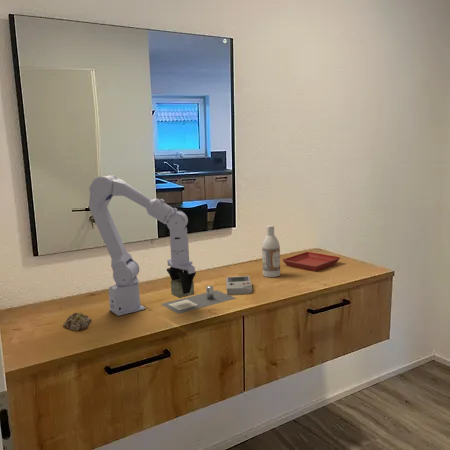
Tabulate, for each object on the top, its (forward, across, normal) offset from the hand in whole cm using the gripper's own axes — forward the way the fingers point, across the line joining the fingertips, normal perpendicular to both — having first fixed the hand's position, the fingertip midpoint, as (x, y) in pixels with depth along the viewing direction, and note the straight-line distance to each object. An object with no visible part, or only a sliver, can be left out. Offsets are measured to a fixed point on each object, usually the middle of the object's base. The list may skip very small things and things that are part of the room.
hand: (182, 290), depth 147 cm
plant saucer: (+7, +11, -69) cm, 70 cm away
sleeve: (+1, 0, 0) cm, 1 cm away
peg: (+5, 0, -10) cm, 12 cm away
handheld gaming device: (+6, +3, -25) cm, 26 cm away
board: (+6, 0, -6) cm, 8 cm away
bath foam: (+6, +10, -46) cm, 47 cm away
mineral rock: (+6, +8, +32) cm, 33 cm away
